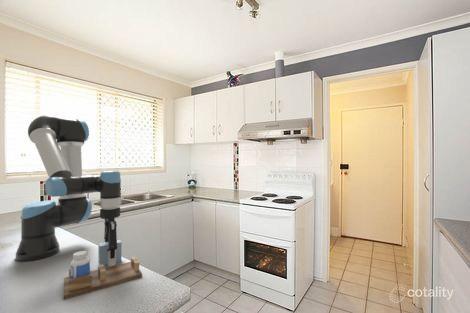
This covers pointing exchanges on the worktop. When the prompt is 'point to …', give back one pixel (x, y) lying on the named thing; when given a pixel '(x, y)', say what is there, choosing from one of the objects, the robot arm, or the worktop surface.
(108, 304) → the worktop surface
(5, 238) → the worktop surface
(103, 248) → the block
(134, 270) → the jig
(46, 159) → the robot arm
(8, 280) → the worktop surface
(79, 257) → the pill bottle
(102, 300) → the worktop surface
